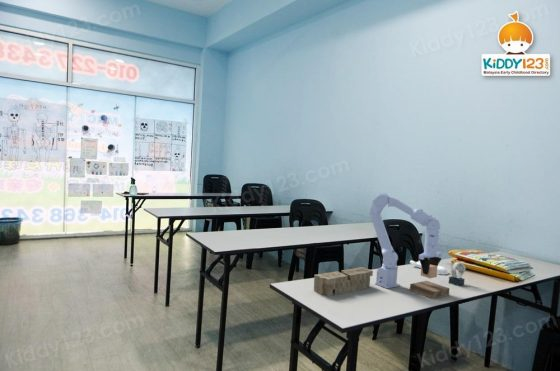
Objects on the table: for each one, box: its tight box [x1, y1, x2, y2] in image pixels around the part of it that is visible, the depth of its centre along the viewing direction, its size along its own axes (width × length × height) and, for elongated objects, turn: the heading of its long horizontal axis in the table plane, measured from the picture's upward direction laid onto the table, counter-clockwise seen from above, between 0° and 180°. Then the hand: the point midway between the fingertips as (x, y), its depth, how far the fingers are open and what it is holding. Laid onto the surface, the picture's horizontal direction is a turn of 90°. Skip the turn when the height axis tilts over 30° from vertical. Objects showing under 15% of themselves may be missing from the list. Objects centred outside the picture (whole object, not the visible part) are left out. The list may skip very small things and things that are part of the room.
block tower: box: [313, 266, 374, 297], centre depth 174 cm, size 8×8×29 cm
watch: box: [448, 261, 467, 287], centre depth 191 cm, size 6×8×11 cm
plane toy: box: [409, 260, 449, 275], centre depth 215 cm, size 10×20×6 cm, turn 34°
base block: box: [409, 280, 450, 300], centre depth 176 cm, size 12×12×3 cm
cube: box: [420, 264, 438, 279], centre depth 177 cm, size 5×5×5 cm
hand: (428, 273), depth 177 cm, fingers closed on cube, 5 cm apart
